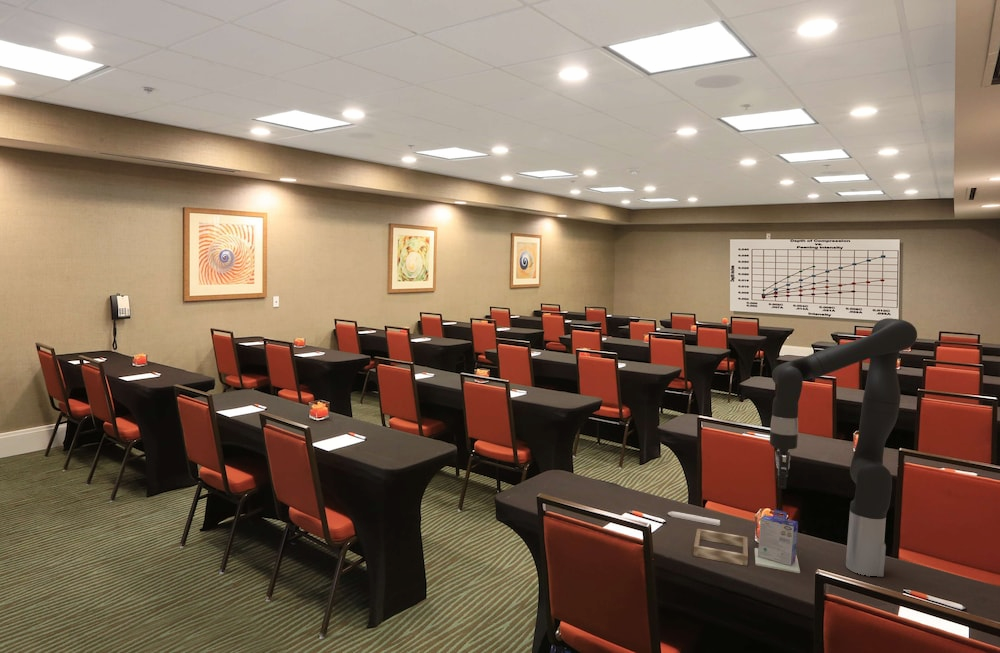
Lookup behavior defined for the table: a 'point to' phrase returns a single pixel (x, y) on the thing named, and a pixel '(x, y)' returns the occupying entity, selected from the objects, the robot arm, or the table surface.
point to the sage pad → (776, 564)
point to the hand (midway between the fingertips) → (781, 483)
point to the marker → (694, 518)
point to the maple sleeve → (721, 554)
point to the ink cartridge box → (778, 538)
